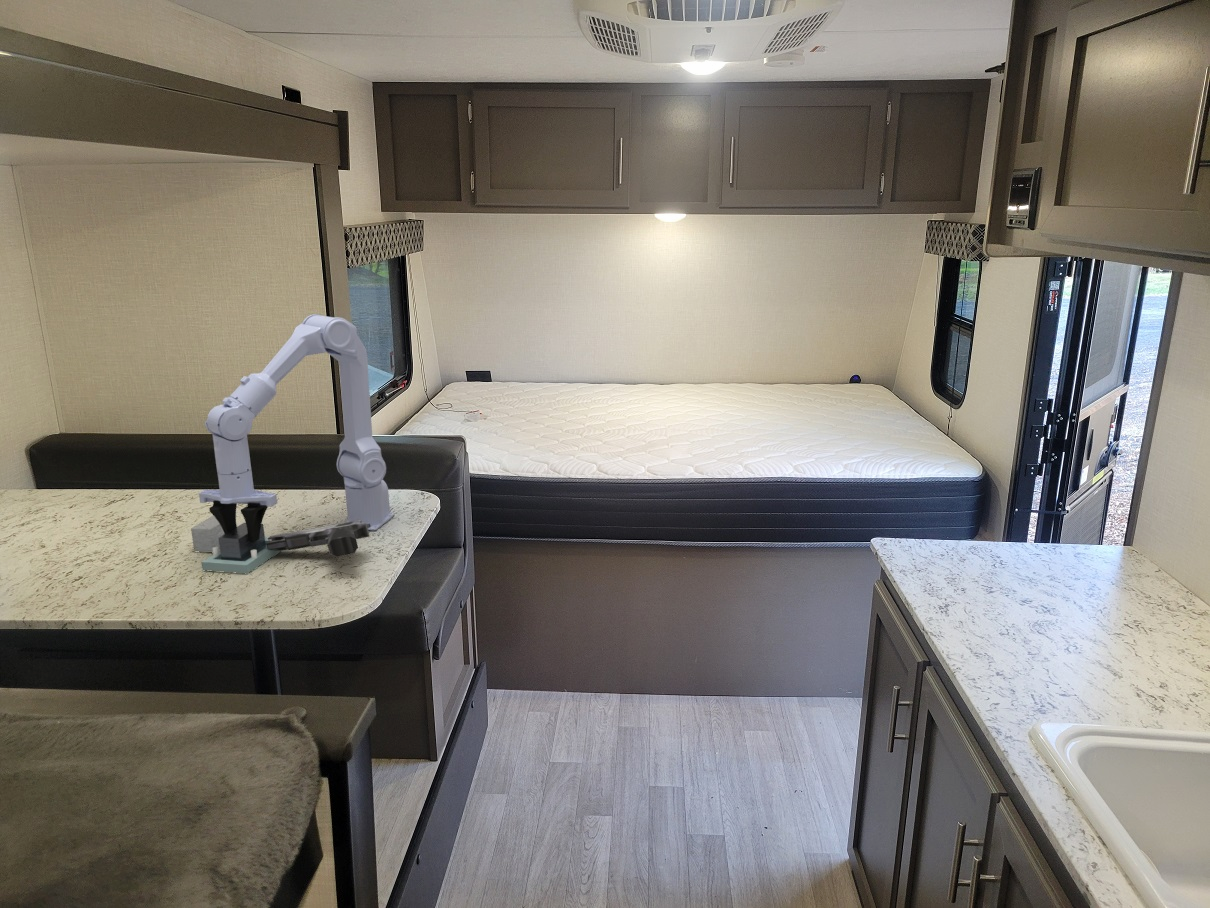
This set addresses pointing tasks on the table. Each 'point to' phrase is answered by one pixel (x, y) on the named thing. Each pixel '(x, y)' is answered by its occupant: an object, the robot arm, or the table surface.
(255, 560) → the tray
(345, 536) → the handgun
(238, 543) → the dark grey rectangular block
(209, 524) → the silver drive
